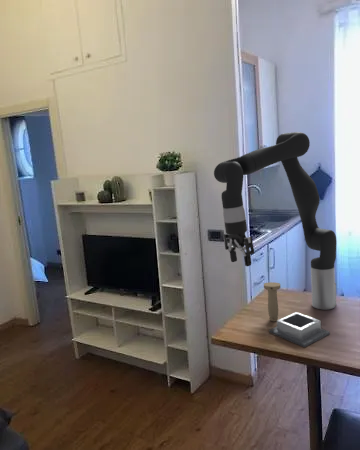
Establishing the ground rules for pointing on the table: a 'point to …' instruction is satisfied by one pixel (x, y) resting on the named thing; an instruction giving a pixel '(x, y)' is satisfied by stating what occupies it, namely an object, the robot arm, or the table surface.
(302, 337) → the socket
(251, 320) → the table surface
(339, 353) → the table surface
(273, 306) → the handle
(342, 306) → the table surface
